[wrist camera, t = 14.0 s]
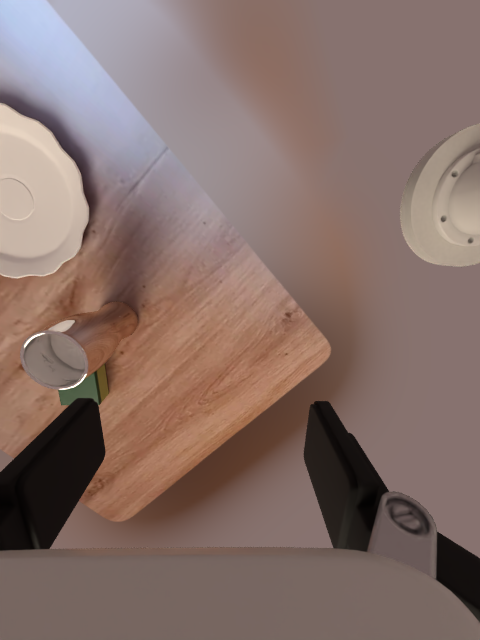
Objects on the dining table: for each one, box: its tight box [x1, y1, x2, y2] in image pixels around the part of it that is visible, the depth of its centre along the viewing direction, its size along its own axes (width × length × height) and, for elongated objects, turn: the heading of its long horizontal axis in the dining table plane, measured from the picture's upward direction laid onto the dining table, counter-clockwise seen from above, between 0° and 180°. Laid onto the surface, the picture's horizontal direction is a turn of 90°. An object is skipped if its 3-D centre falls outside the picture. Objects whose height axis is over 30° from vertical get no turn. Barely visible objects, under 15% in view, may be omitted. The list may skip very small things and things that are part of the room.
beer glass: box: [20, 301, 138, 390], centre depth 32 cm, size 7×7×15 cm
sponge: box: [58, 363, 109, 405], centre depth 40 cm, size 9×6×3 cm, turn 178°
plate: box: [0, 103, 89, 278], centre depth 33 cm, size 21×21×2 cm
